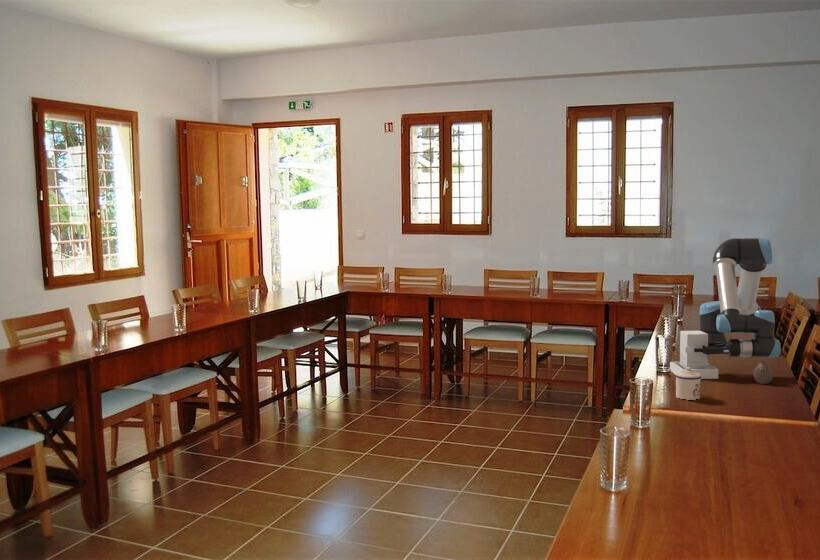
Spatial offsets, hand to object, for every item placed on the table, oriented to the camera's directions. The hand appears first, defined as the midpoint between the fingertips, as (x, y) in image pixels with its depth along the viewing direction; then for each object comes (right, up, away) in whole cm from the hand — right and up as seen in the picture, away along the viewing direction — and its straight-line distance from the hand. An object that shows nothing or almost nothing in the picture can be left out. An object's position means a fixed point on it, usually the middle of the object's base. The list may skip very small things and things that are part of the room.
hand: (683, 347), depth 314 cm
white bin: (+5, -12, +1) cm, 13 cm away
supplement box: (+4, -9, 0) cm, 10 cm away
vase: (+26, -13, -16) cm, 33 cm away
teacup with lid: (-10, -16, -33) cm, 38 cm away
